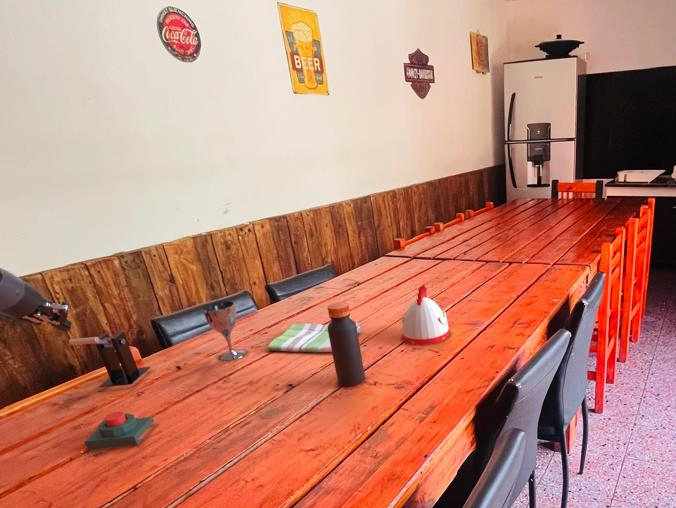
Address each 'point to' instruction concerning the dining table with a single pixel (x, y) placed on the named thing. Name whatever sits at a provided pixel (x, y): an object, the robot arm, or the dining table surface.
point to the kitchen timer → (424, 321)
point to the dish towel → (304, 339)
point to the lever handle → (92, 341)
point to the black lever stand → (112, 364)
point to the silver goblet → (223, 324)
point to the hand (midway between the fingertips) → (67, 327)
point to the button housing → (119, 433)
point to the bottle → (345, 345)
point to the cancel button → (115, 419)
